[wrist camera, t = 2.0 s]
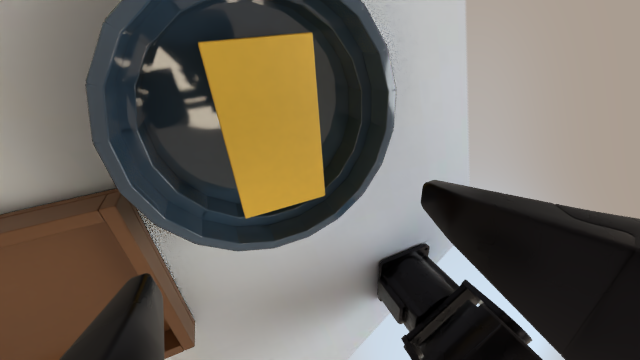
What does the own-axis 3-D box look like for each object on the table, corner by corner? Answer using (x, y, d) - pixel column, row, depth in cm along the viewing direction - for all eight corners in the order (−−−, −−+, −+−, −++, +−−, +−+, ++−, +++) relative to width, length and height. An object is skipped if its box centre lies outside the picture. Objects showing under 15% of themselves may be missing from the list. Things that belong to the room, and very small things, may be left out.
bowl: (362, -34, 16) (406, -53, 12) (361, 186, 23) (388, 210, 20) (46, -30, 11) (-18, -60, 8) (173, 241, 19) (168, 284, 15)
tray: (125, 186, 16) (115, 205, 14) (195, 321, 23) (195, 346, 21) (-221, 263, 12) (-301, 306, 10) (-10, 400, 19) (-33, 440, 17)
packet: (288, 33, 15) (313, 32, 12) (304, 170, 20) (325, 195, 16) (197, 41, 14) (197, 42, 11) (237, 187, 18) (245, 219, 15)
